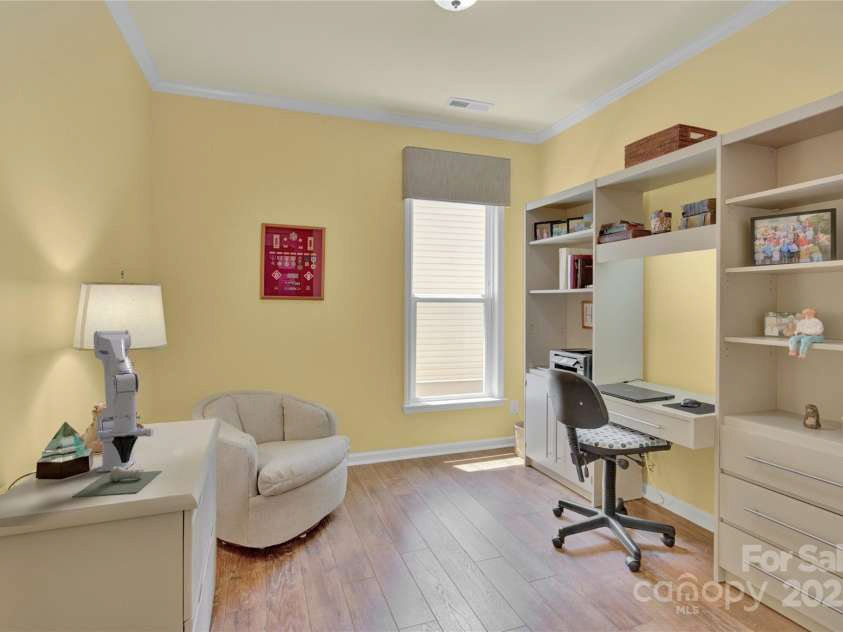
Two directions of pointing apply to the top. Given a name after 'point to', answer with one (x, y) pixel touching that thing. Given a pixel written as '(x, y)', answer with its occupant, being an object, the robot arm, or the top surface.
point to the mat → (116, 485)
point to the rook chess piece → (125, 474)
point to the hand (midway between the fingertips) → (125, 461)
